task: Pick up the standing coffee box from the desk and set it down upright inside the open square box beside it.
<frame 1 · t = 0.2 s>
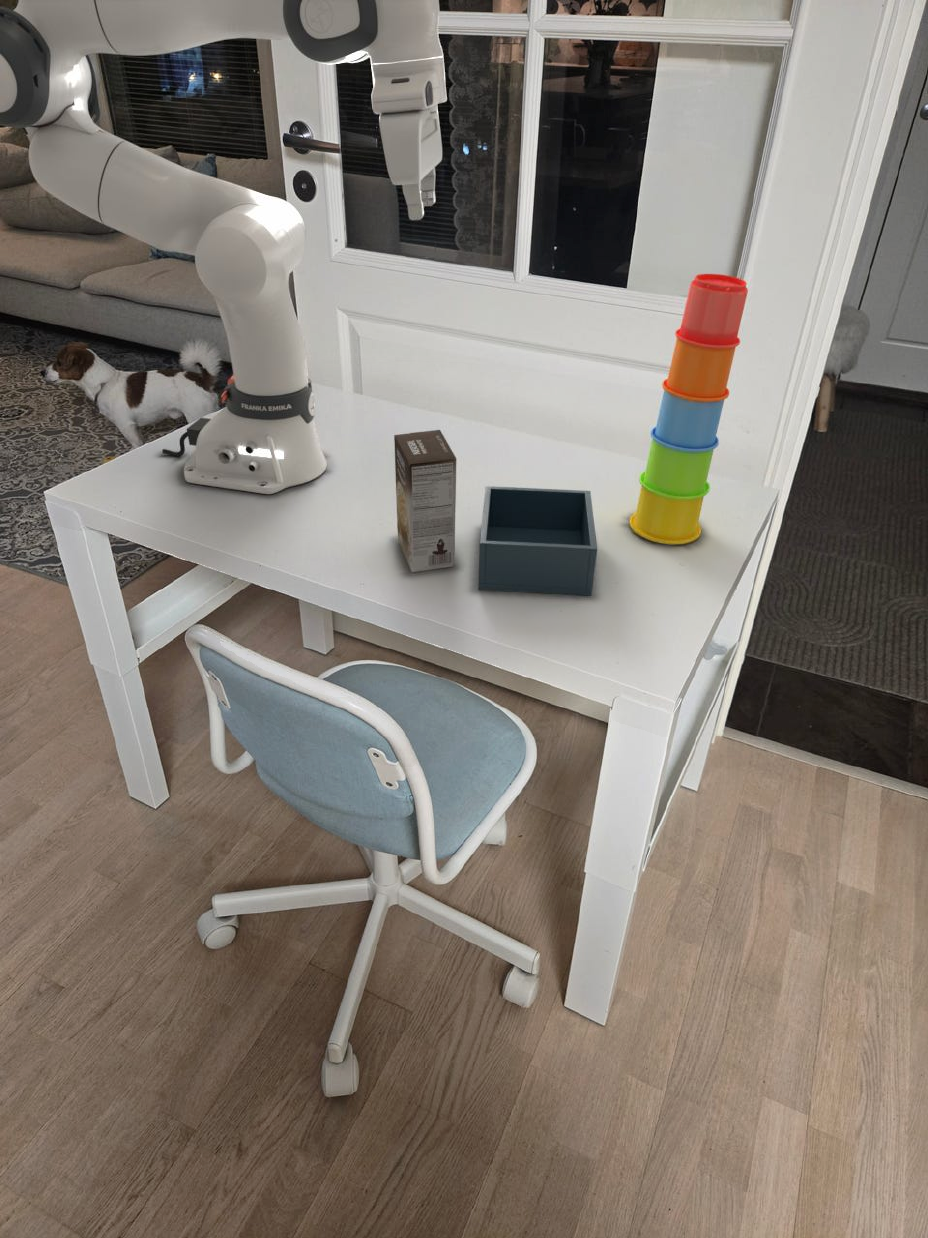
hand: (423, 211, 109), 39 cm above the table, tool pointing down, fingers open, 8 cm apart
stacking cups: (664, 530, 120), on the table
open square box: (534, 560, 112), on the table
coffee box: (425, 554, 113), on the table
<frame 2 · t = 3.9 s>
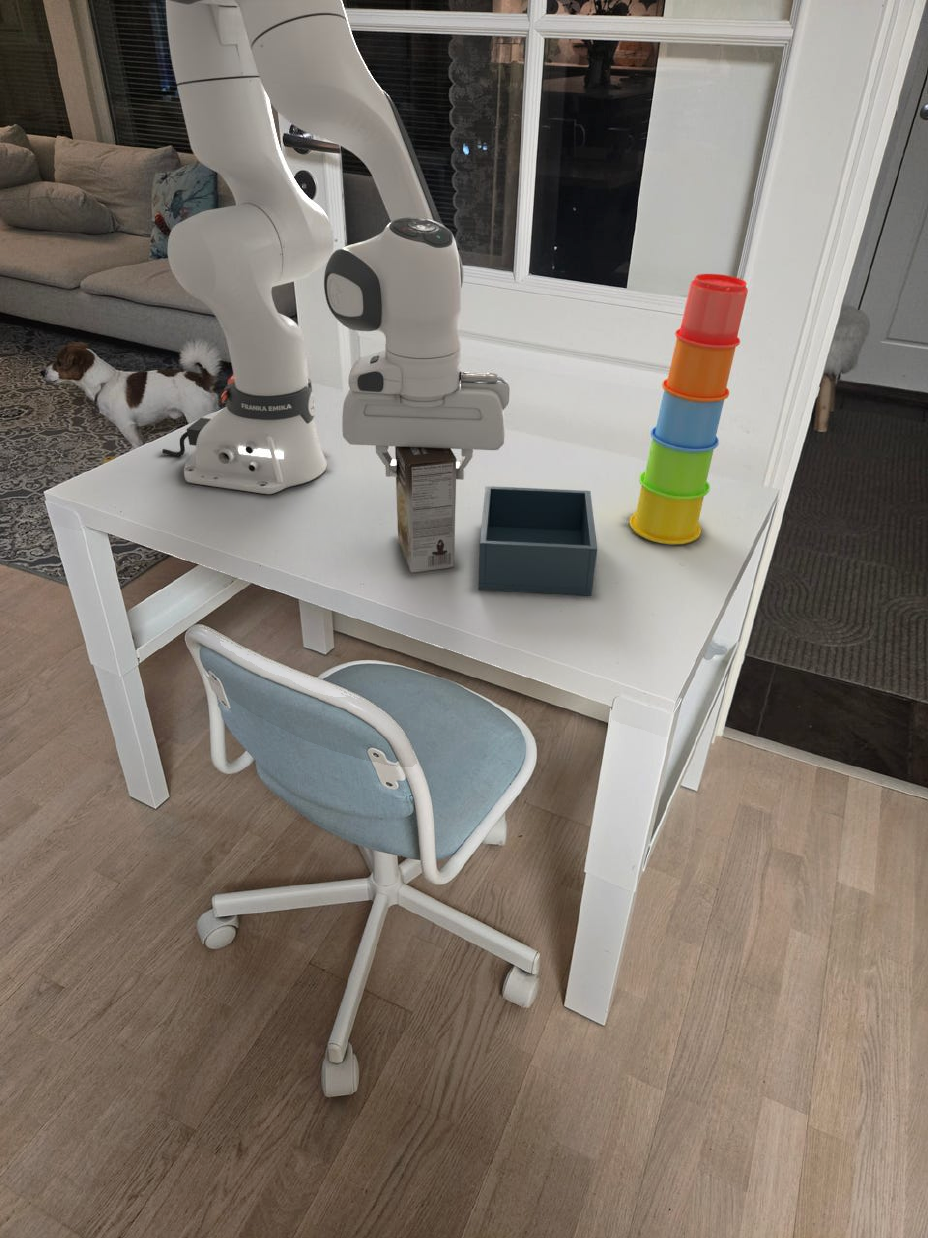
hand: (425, 476, 106), 12 cm above the table, tool pointing down, fingers closed on coffee box, 7 cm apart
coffee box: (425, 554, 113), on the table, touching gripper
everything else where it was.
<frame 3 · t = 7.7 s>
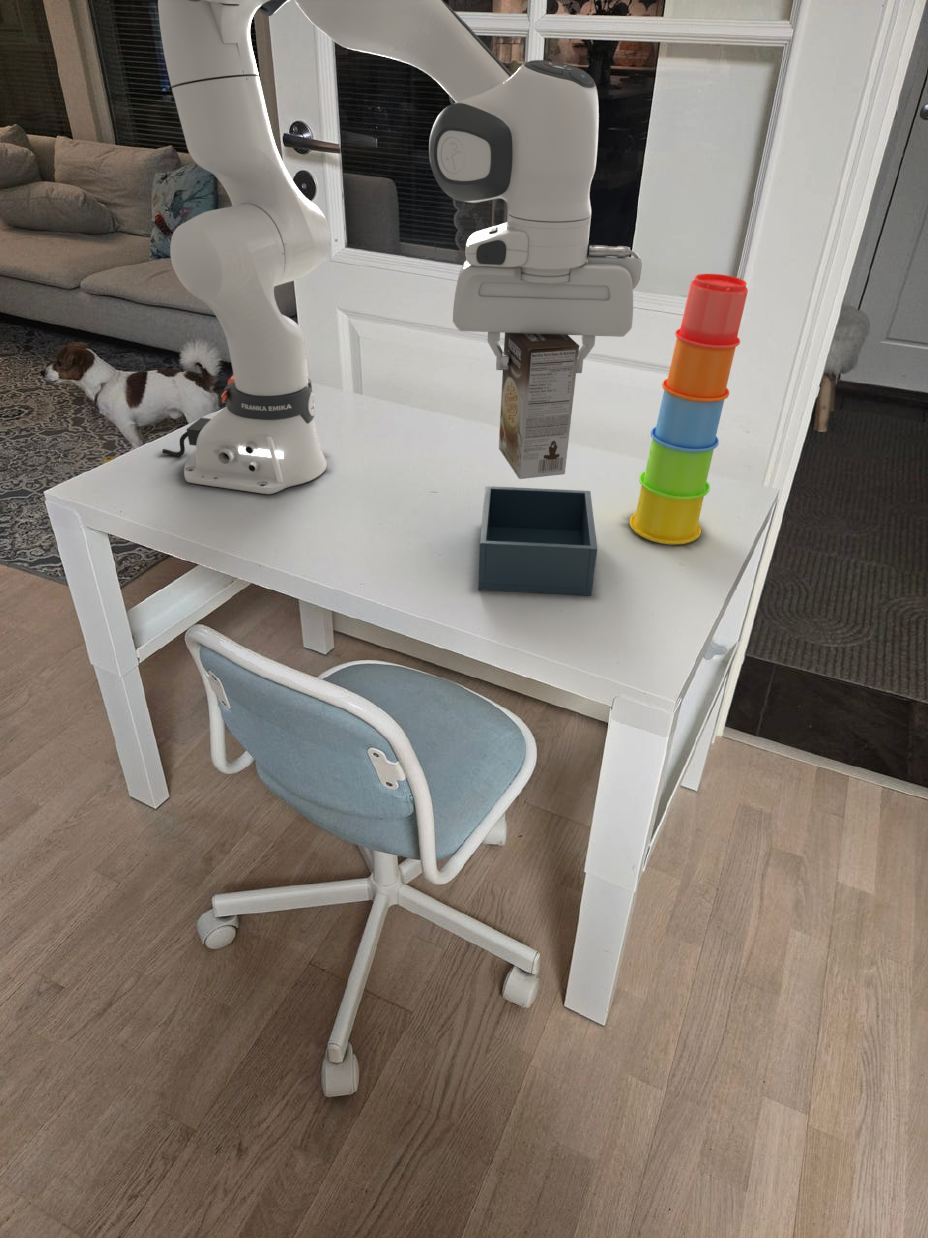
hand: (538, 370, 96), 26 cm above the table, tool pointing down, fingers closed on coffee box, 7 cm apart
coffee box: (531, 463, 103), point 14 cm above the table, touching gripper
everything else where it was.
when the fingers open (13 cm above the table, at t = 11.4 s): coffee box stays where it is, resting on open square box.
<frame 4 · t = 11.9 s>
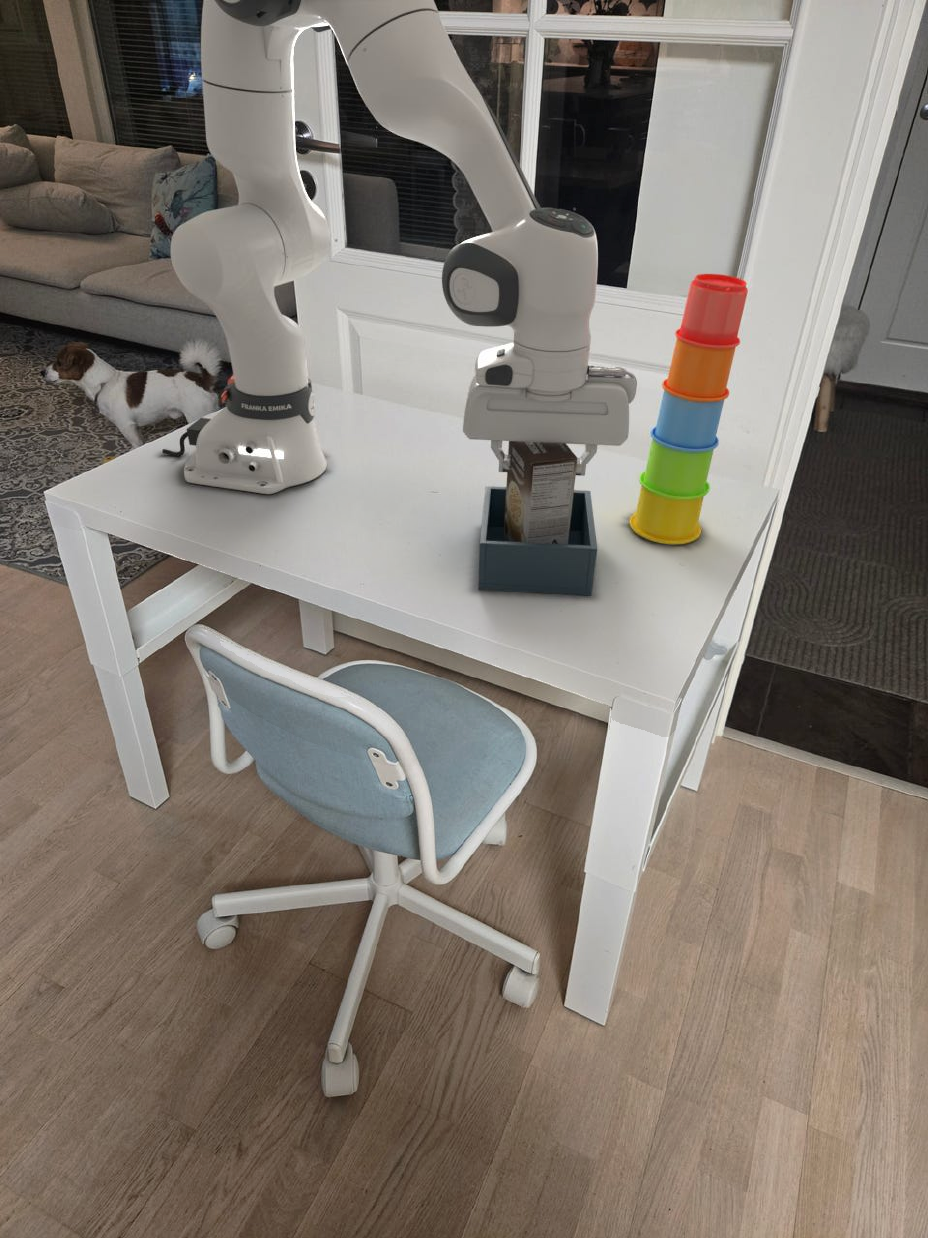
hand: (541, 472, 104), 13 cm above the table, tool pointing down, fingers open, 8 cm apart
coffee box: (533, 555, 111), point 1 cm above the table, touching open square box
everything else where it was.
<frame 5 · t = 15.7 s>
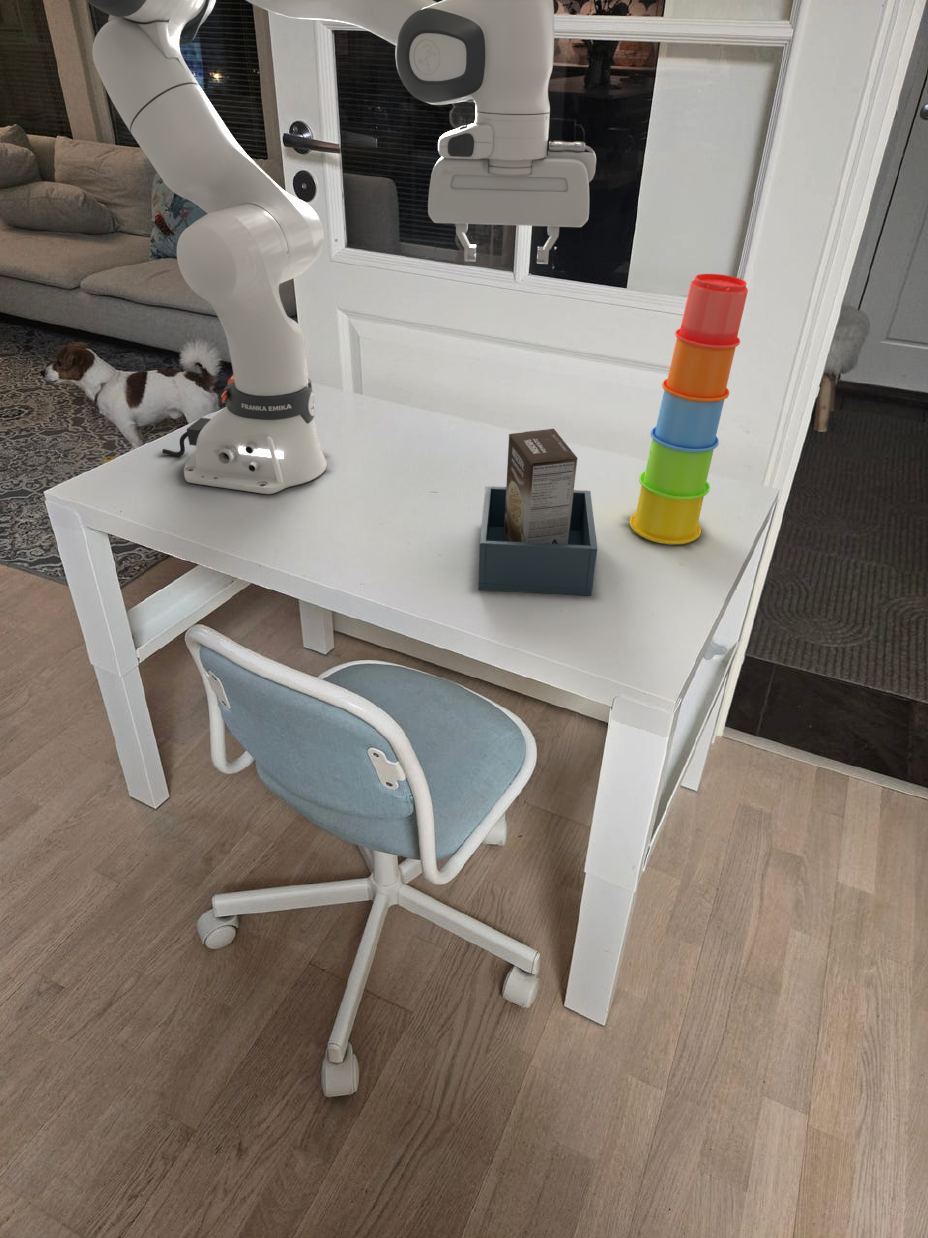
hand: (506, 261, 107), 34 cm above the table, tool pointing down, fingers open, 8 cm apart
nothing on the table moved.
at the end: coffee box inside the target area in the open square box (0.1 cm from its centre), point 0.8 cm above the open square box's base; coffee box tilted 0°; the gripper is holding nothing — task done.
